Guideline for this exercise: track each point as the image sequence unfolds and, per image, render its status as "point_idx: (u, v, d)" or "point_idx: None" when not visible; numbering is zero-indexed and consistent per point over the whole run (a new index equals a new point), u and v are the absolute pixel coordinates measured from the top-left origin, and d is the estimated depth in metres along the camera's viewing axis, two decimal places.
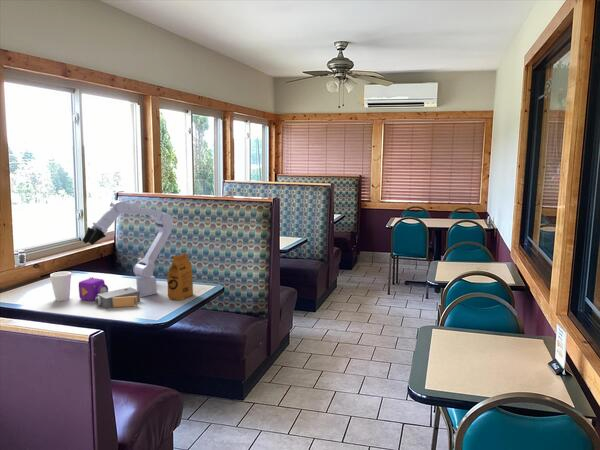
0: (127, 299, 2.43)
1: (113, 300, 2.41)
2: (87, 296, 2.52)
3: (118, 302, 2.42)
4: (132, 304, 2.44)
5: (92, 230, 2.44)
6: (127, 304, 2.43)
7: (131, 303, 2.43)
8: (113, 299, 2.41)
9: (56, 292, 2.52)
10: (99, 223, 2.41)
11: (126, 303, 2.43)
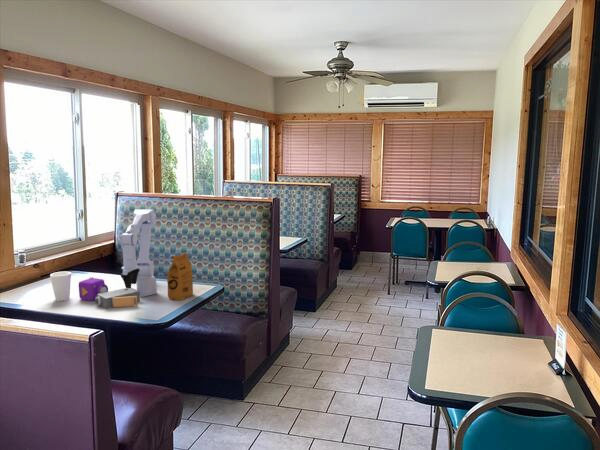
0: (127, 299, 2.43)
1: (113, 300, 2.41)
2: (87, 296, 2.52)
3: (118, 302, 2.42)
4: (132, 304, 2.44)
5: (131, 270, 2.47)
6: (127, 304, 2.43)
7: (131, 303, 2.43)
8: (113, 299, 2.41)
9: (56, 292, 2.52)
10: None
11: (126, 303, 2.43)
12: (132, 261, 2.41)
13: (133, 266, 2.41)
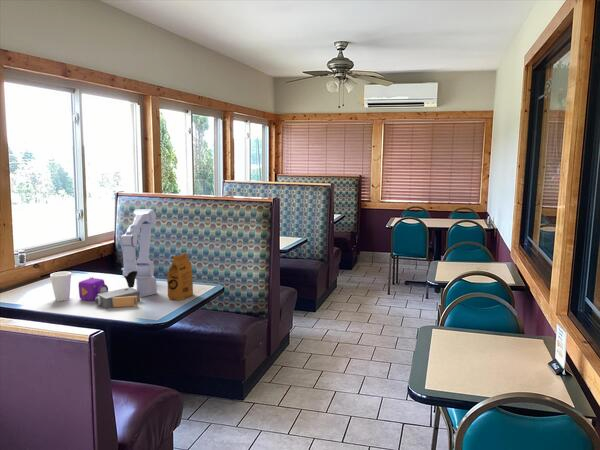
0: (127, 299, 2.43)
1: (113, 300, 2.41)
2: (87, 296, 2.52)
3: (118, 302, 2.42)
4: (132, 304, 2.44)
5: None
6: (127, 304, 2.43)
7: (131, 303, 2.43)
8: (113, 299, 2.41)
9: (56, 292, 2.52)
10: (124, 267, 2.41)
11: (126, 303, 2.43)
12: (132, 262, 2.41)
13: (133, 267, 2.41)
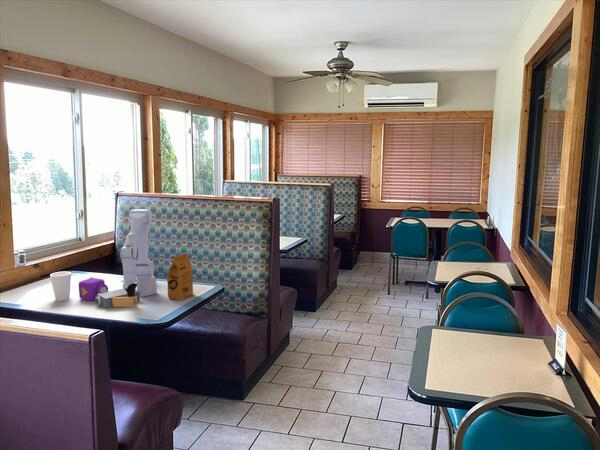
0: (127, 300, 2.42)
1: (113, 300, 2.41)
2: (87, 296, 2.52)
3: (118, 302, 2.42)
4: (132, 304, 2.43)
5: None
6: (127, 304, 2.43)
7: (131, 304, 2.43)
8: (113, 299, 2.41)
9: (56, 292, 2.52)
10: (124, 279, 2.41)
11: (126, 303, 2.42)
12: (132, 274, 2.40)
13: (133, 279, 2.41)
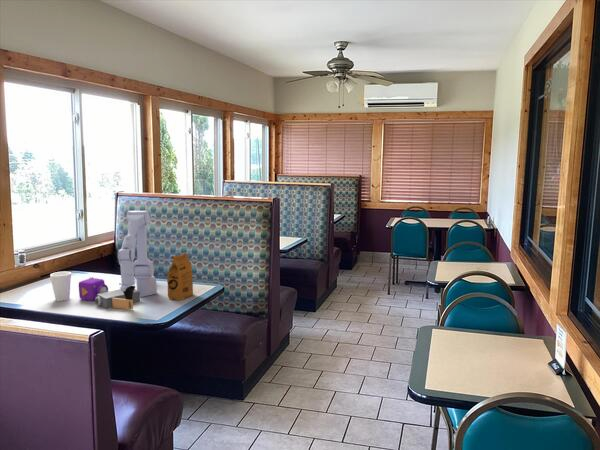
0: (123, 302, 2.39)
1: (112, 300, 2.41)
2: (87, 296, 2.52)
3: (116, 303, 2.40)
4: (128, 307, 2.39)
5: None
6: (124, 306, 2.39)
7: (127, 307, 2.39)
8: (112, 299, 2.41)
9: (56, 292, 2.52)
10: (121, 281, 2.37)
11: (123, 305, 2.39)
12: (130, 277, 2.36)
13: (131, 282, 2.37)
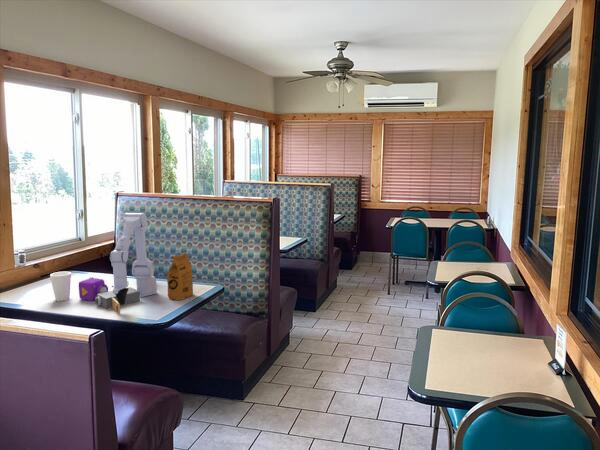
0: (115, 304, 2.36)
1: (112, 300, 2.41)
2: (87, 296, 2.52)
3: (113, 304, 2.39)
4: (117, 310, 2.34)
5: None
6: (115, 309, 2.36)
7: None
8: (112, 299, 2.41)
9: (56, 292, 2.52)
10: (114, 284, 2.32)
11: (115, 307, 2.36)
12: (123, 279, 2.32)
13: (124, 284, 2.32)
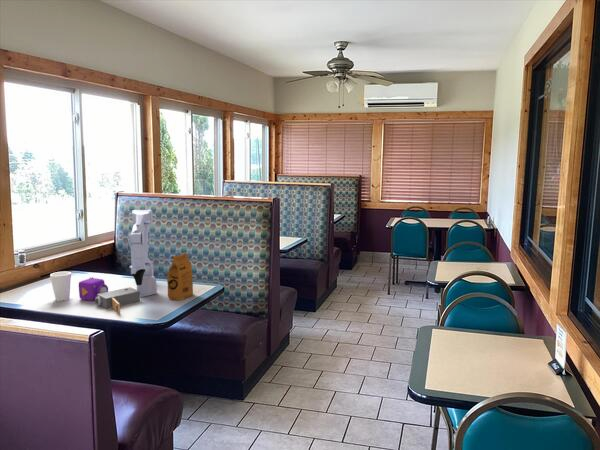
0: (115, 304, 2.36)
1: (112, 300, 2.41)
2: (87, 296, 2.52)
3: (113, 304, 2.39)
4: None
5: None
6: (115, 309, 2.36)
7: None
8: (112, 299, 2.41)
9: (56, 292, 2.52)
10: (132, 265, 2.43)
11: (115, 307, 2.36)
12: (140, 260, 2.42)
13: (141, 265, 2.43)
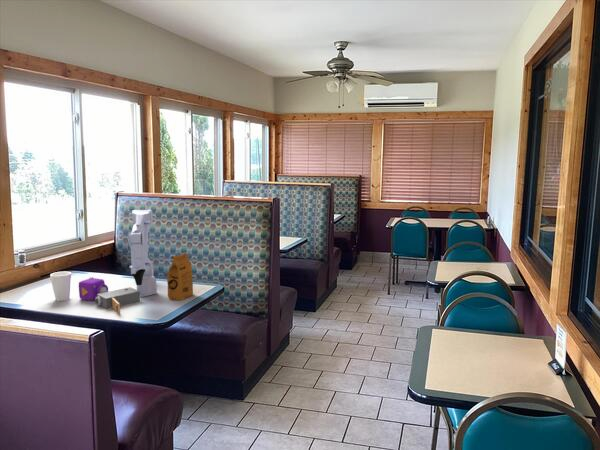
0: (115, 304, 2.36)
1: (112, 300, 2.41)
2: (87, 296, 2.52)
3: (113, 304, 2.39)
4: None
5: None
6: (115, 309, 2.36)
7: None
8: (112, 299, 2.41)
9: (56, 292, 2.52)
10: (132, 265, 2.43)
11: (115, 307, 2.36)
12: (140, 260, 2.42)
13: (141, 265, 2.43)
